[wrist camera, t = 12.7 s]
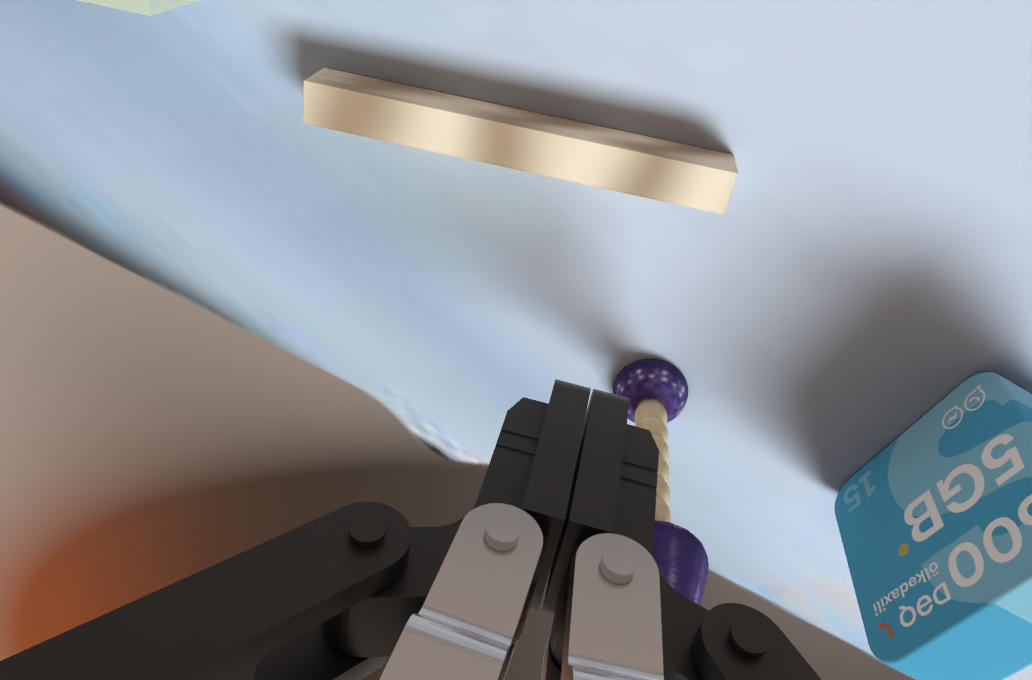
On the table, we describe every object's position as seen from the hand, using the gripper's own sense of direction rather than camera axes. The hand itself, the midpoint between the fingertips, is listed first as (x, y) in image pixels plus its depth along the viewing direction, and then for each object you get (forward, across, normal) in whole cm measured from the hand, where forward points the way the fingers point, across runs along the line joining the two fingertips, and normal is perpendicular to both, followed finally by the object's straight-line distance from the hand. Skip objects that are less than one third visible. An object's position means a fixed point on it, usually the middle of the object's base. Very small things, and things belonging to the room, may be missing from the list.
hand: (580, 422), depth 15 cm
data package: (+25, -21, +15) cm, 36 cm away
